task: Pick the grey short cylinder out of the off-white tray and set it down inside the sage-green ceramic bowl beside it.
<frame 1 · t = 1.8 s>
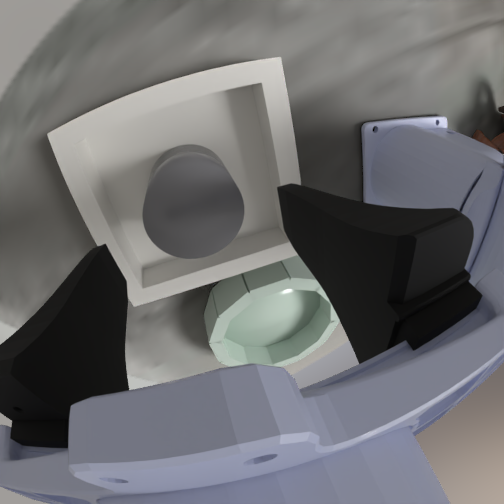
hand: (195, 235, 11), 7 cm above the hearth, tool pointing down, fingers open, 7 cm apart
grey short cylinder: (188, 182, 16), point 1 cm above the hearth, touching parts tray
pottery mug: (489, 133, 20), on the hearth
parts tray: (187, 178, 16), on the hearth
sage bowl: (268, 307, 25), on the hearth
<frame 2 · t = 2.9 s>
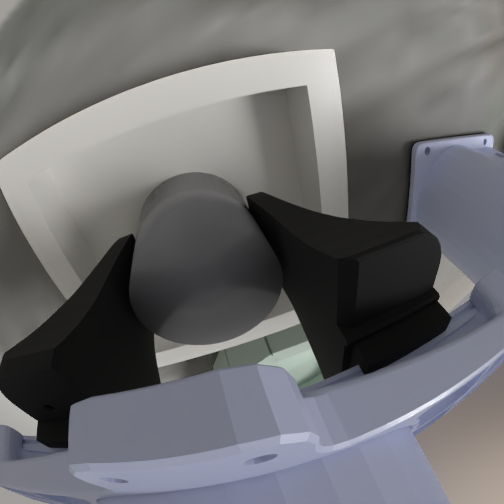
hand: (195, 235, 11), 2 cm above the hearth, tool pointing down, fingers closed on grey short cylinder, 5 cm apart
grey short cylinder: (193, 224, 12), point 1 cm above the hearth, touching gripper, parts tray
parts tray: (192, 216, 12), on the hearth
sage bowl: (288, 353, 20), on the hearth
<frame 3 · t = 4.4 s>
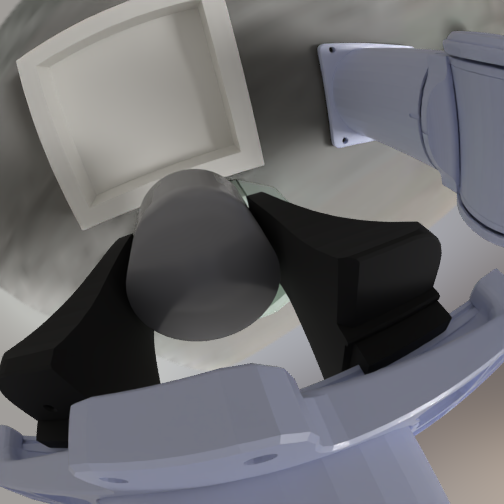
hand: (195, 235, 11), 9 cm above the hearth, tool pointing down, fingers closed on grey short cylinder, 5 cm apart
grey short cylinder: (192, 221, 12), point 8 cm above the hearth, touching gripper
parts tray: (139, 98, 15), on the hearth
sage bowl: (235, 247, 23), on the hearth
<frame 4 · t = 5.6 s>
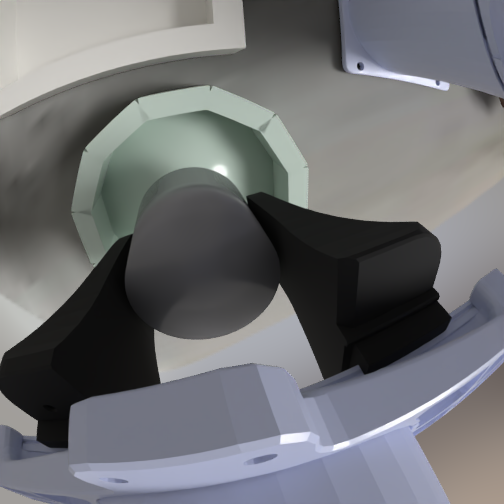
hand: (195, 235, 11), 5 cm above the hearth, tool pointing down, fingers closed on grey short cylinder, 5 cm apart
grey short cylinder: (192, 220, 12), point 4 cm above the hearth, touching gripper
sage bowl: (188, 190, 15), on the hearth
when the fingers open (4 cm above the hearth, at t = 6.3 s): grey short cylinder drops 2 cm, resting on sage bowl.
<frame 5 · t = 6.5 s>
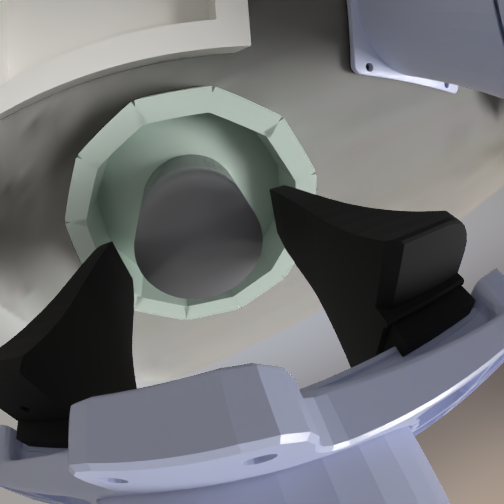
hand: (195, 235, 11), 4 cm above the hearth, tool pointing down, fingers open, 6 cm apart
grey short cylinder: (189, 200, 13), point 1 cm above the hearth, touching sage bowl
sage bowl: (189, 197, 14), on the hearth
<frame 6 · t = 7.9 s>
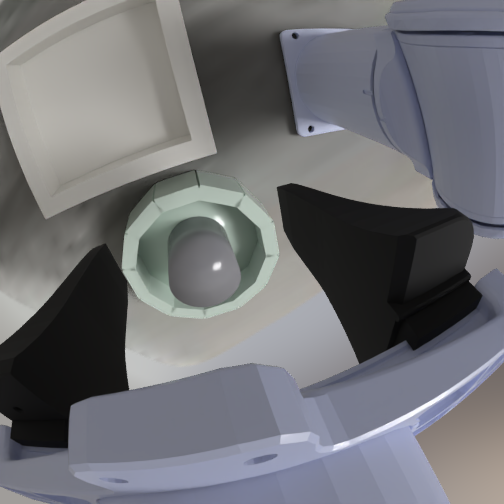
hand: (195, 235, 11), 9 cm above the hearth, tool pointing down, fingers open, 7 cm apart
grey short cylinder: (197, 243, 21), point 1 cm above the hearth, touching sage bowl
parts tray: (101, 92, 14), on the hearth
sage bowl: (197, 240, 22), on the hearth
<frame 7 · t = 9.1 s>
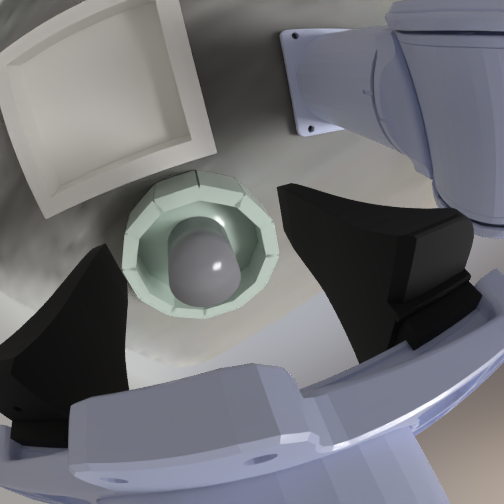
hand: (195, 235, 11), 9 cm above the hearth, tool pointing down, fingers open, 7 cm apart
grey short cylinder: (197, 243, 21), point 1 cm above the hearth, touching sage bowl
parts tray: (101, 92, 14), on the hearth
sage bowl: (197, 240, 22), on the hearth
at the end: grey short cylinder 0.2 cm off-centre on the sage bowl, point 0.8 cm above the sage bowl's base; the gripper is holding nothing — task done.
